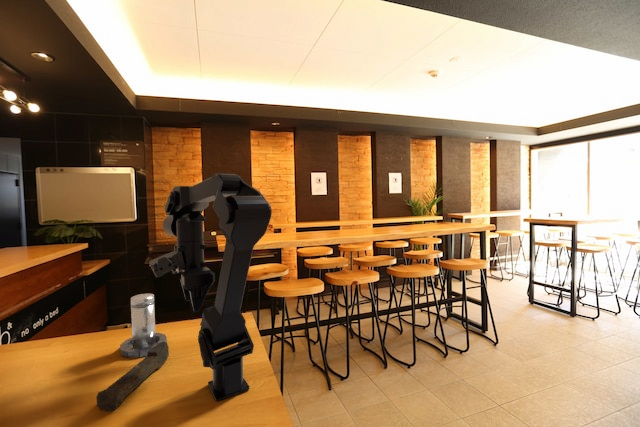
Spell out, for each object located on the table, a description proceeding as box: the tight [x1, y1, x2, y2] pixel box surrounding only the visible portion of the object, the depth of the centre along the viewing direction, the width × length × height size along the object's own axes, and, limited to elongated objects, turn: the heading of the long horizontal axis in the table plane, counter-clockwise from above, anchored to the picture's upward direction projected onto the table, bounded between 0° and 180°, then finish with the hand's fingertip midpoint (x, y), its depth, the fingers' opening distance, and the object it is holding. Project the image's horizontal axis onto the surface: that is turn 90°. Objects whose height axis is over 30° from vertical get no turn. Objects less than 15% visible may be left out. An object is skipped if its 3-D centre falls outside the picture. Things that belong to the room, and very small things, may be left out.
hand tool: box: [95, 341, 170, 412], centre depth 63 cm, size 19×4×5 cm, turn 172°
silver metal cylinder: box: [130, 293, 157, 349], centre depth 77 cm, size 5×5×13 cm
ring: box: [119, 332, 168, 359], centre depth 77 cm, size 10×10×2 cm
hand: (192, 305), depth 73 cm, fingers open, 9 cm apart
